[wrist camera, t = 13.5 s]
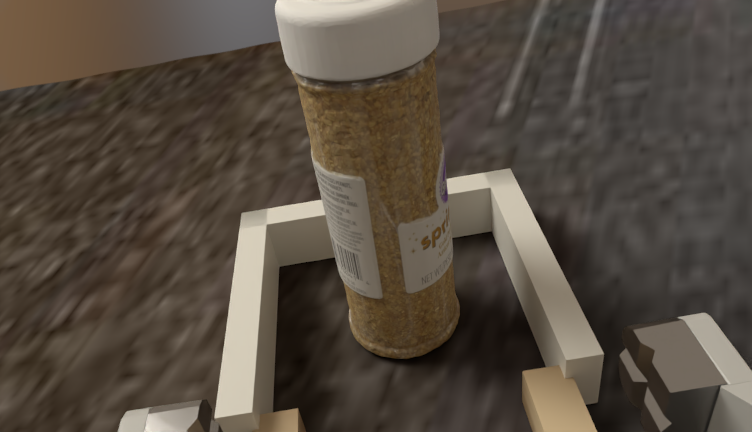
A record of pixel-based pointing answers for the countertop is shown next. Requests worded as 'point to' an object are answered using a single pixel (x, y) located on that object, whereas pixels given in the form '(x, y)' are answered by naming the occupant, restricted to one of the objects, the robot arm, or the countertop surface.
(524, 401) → the oak slot
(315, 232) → the white u-shaped bracket
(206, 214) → the countertop surface
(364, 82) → the sprinkles bottle
